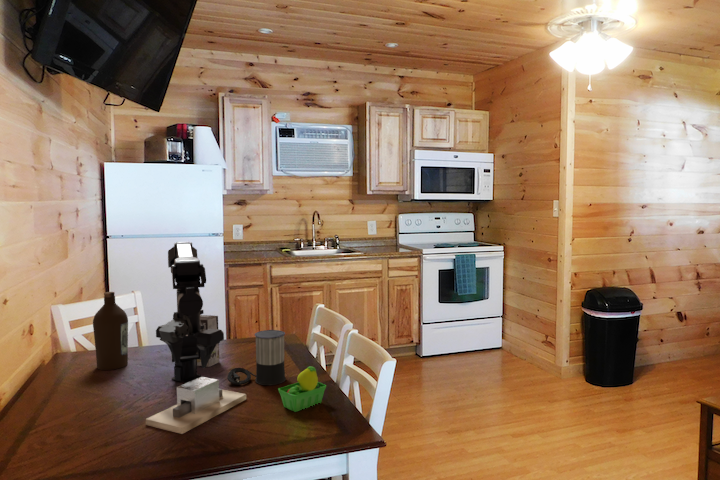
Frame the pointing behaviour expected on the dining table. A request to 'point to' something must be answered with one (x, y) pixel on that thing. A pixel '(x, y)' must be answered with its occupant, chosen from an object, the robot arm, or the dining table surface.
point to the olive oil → (111, 335)
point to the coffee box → (208, 324)
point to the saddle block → (199, 393)
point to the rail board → (185, 420)
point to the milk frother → (265, 360)
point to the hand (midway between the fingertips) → (190, 365)
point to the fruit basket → (303, 391)
